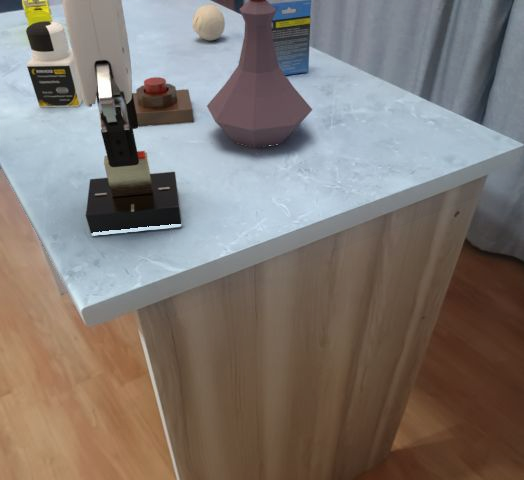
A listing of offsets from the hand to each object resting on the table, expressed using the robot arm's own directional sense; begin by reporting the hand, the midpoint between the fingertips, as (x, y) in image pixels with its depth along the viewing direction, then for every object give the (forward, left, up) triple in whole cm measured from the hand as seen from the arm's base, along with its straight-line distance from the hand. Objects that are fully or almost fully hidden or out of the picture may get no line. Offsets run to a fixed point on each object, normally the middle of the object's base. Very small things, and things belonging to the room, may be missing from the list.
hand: (125, 145), depth 60 cm
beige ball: (+16, +72, -9) cm, 74 cm away
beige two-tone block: (0, 0, -6) cm, 6 cm away
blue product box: (+29, +48, -9) cm, 56 cm away
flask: (+19, +20, -9) cm, 29 cm away
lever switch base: (0, 0, -9) cm, 9 cm away
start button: (+4, +32, -5) cm, 32 cm away
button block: (+4, +32, -9) cm, 33 cm away
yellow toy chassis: (-22, +85, -9) cm, 88 cm away
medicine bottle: (-13, +41, -9) cm, 44 cm away
